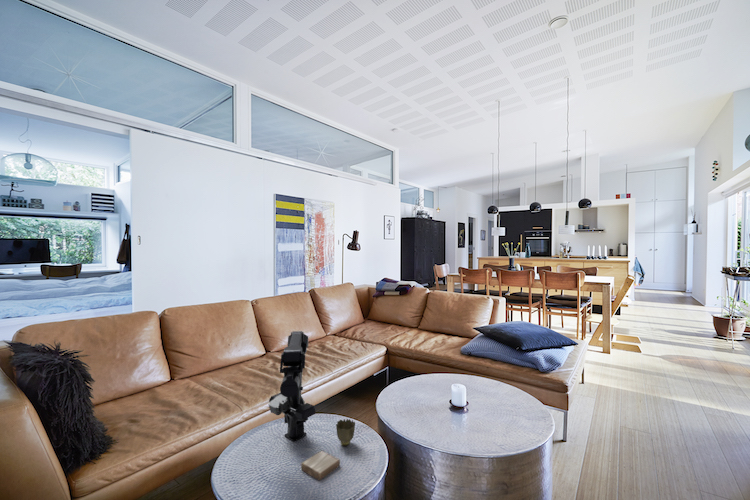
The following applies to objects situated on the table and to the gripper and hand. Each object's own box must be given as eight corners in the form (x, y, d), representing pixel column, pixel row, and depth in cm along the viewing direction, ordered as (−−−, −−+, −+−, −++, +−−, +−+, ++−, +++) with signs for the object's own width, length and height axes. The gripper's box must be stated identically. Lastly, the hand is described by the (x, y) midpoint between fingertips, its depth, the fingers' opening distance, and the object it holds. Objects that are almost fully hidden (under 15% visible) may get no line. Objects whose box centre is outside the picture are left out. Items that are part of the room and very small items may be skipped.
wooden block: (301, 462, 113) (319, 473, 107) (321, 450, 120) (339, 459, 115) (301, 470, 113) (319, 481, 107) (321, 457, 120) (339, 467, 115)
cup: (351, 450, 124) (352, 429, 124) (333, 448, 125) (333, 427, 126) (356, 440, 131) (357, 419, 131) (339, 437, 133) (339, 417, 133)
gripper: (256, 385, 115) (255, 430, 115) (291, 400, 104) (290, 449, 104) (282, 376, 124) (281, 418, 124) (317, 388, 113) (316, 434, 113)
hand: (291, 429), depth 116 cm, fingers closed
